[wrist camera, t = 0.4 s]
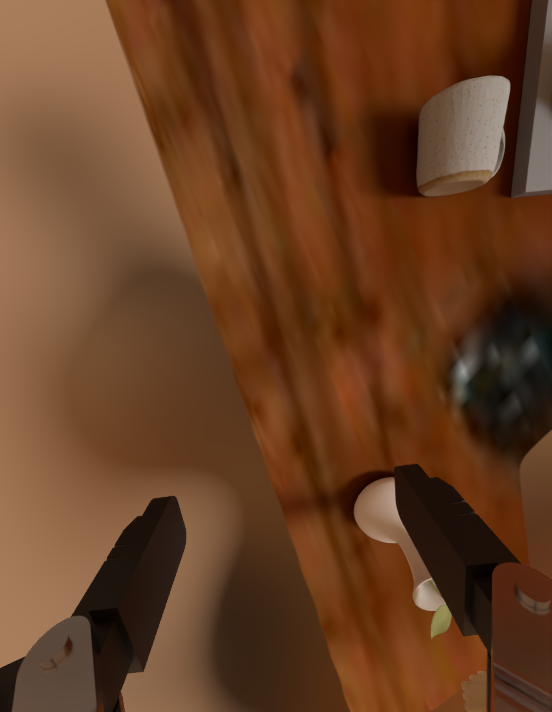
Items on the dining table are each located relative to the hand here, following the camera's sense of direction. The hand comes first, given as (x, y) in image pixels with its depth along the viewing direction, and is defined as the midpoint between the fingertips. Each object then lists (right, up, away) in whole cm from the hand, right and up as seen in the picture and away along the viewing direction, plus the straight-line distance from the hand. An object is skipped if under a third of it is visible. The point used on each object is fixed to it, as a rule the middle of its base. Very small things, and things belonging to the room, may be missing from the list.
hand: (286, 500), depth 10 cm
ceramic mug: (+20, +29, +22) cm, 42 cm away
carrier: (+38, +35, +21) cm, 56 cm away
